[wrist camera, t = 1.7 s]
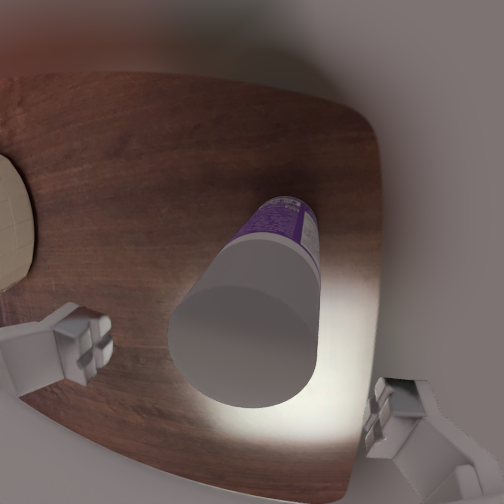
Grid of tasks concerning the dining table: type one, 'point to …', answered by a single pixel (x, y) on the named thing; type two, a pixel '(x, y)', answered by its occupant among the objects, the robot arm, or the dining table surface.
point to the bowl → (14, 227)
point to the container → (254, 311)
